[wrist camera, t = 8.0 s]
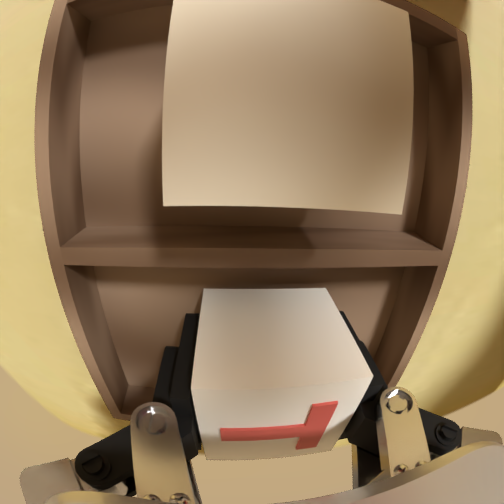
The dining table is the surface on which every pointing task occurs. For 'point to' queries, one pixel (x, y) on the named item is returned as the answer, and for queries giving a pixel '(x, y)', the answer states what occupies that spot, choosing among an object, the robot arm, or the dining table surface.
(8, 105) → the dining table surface
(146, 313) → the organiser
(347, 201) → the plain cube
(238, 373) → the letter cube
